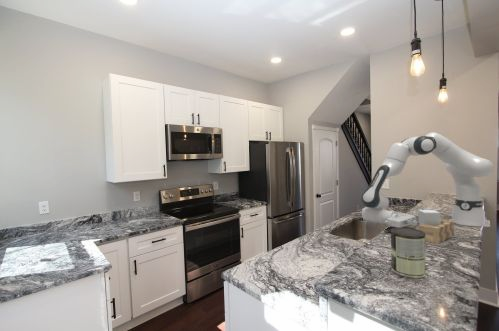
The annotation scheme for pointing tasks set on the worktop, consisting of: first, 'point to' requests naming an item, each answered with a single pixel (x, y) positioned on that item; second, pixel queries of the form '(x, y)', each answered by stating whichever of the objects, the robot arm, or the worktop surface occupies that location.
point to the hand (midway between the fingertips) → (418, 223)
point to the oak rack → (438, 231)
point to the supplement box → (429, 217)
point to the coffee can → (408, 252)
